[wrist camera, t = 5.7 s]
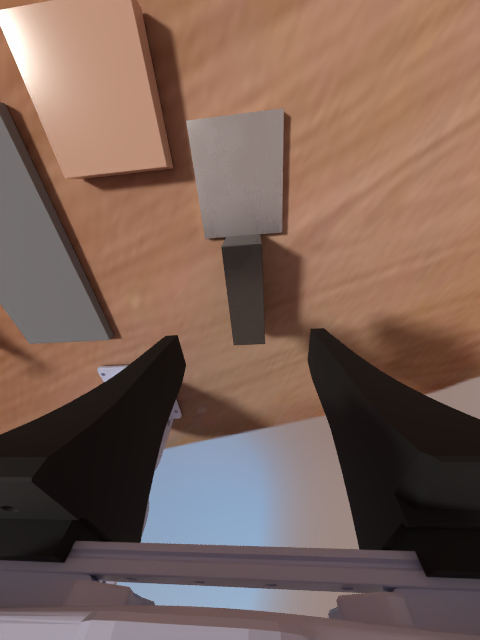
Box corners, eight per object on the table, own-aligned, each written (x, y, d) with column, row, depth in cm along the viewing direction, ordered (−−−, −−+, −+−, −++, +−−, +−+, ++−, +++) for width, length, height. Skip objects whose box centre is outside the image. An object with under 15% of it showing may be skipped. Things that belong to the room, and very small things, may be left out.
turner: (280, 318, 21) (285, 343, 18) (219, 321, 22) (213, 346, 18) (282, 111, 13) (293, 84, 10) (188, 123, 14) (168, 101, 10)
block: (166, 166, 14) (128, -14, 10) (64, 178, 14) (-6, 10, 11) (174, 168, 15) (142, 10, 12) (81, 179, 16) (23, 31, 12)
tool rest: (113, 335, 23) (109, 339, 22) (36, 339, 24) (29, 343, 23) (5, 103, 14) (-8, 99, 13) (-118, 121, 14) (-136, 118, 14)
